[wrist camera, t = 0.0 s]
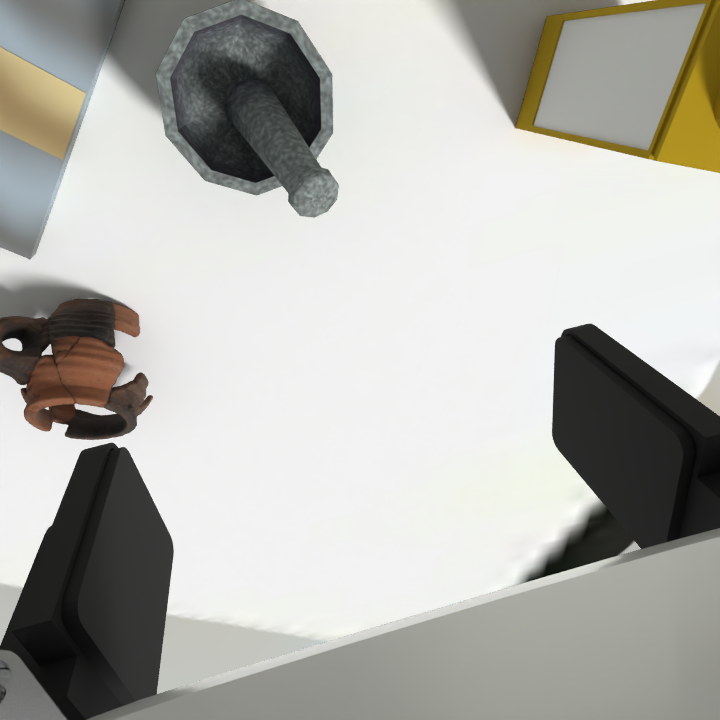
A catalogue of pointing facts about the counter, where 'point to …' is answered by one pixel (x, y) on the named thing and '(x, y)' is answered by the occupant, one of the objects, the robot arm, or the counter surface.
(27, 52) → the latch board
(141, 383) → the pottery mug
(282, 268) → the counter surface
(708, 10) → the white and gold bottle
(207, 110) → the mortar and pestle
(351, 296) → the counter surface
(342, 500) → the counter surface
